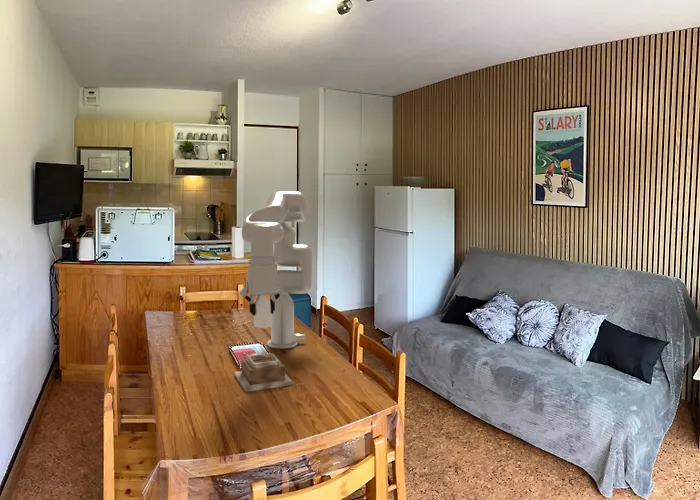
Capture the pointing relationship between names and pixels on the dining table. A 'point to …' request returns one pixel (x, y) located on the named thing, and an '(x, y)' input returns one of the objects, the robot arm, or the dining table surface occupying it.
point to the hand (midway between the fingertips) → (262, 313)
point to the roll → (262, 312)
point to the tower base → (262, 373)
